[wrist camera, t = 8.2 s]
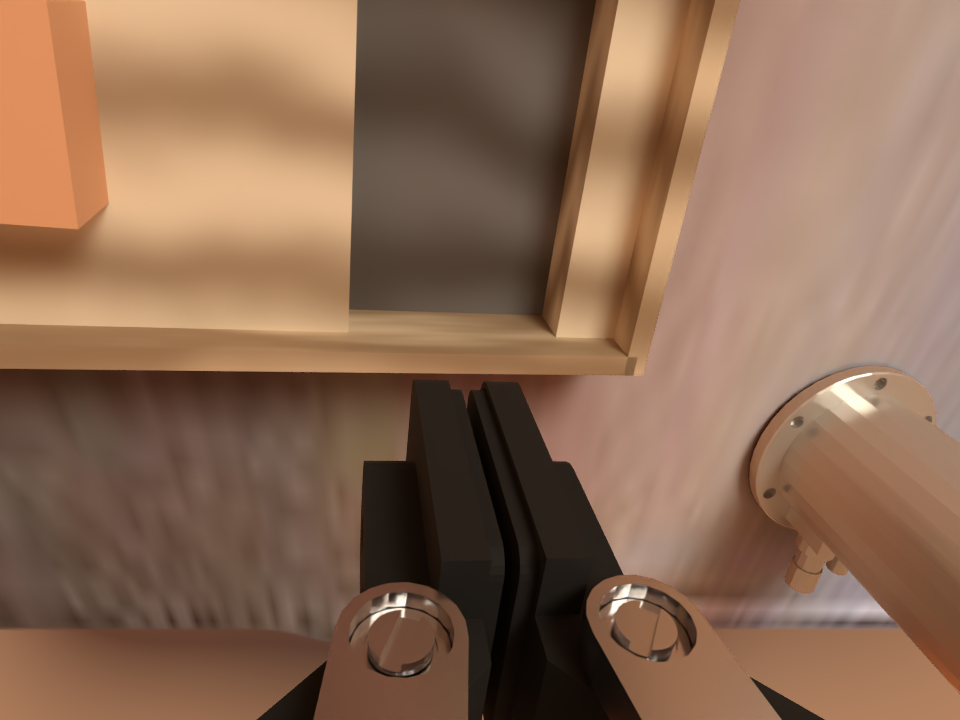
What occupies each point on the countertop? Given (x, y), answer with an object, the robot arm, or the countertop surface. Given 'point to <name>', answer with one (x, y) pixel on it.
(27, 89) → the terracotta block
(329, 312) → the trap box
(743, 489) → the countertop surface
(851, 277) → the countertop surface
